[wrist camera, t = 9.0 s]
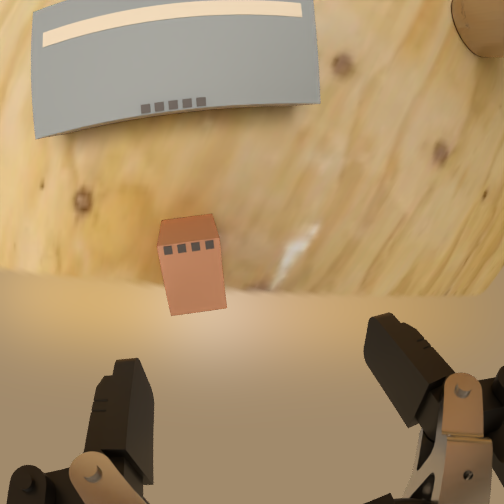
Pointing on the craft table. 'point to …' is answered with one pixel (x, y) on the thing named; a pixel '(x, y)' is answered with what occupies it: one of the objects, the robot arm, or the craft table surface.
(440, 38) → the craft table surface
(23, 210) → the craft table surface
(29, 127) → the craft table surface
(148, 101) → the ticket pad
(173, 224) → the stub
